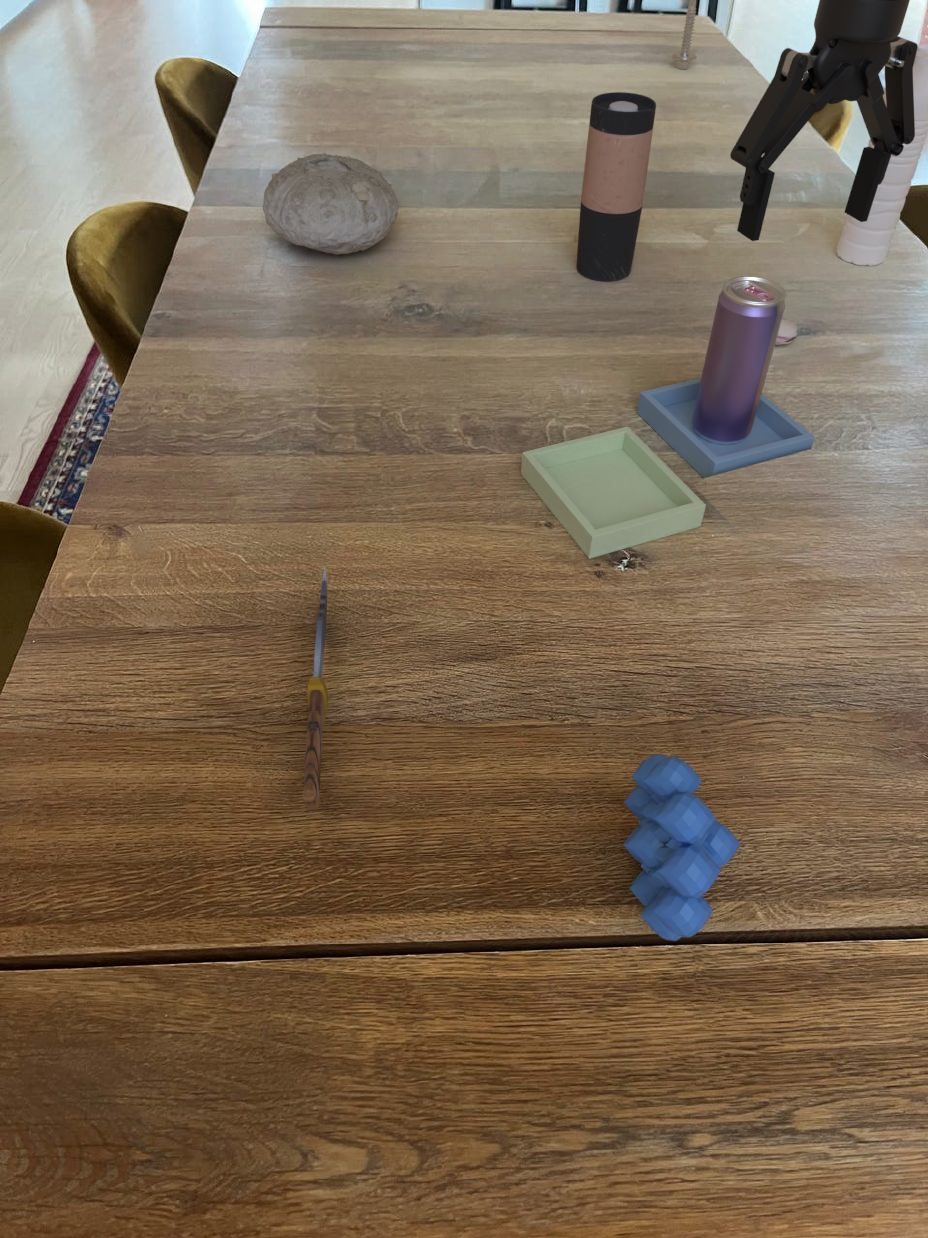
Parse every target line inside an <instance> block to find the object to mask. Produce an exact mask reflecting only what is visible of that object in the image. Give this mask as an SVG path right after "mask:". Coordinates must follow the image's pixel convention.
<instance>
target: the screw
mask: <svg viewBox="0 0 928 1238" xmlns="http://www.w3.org/2000/svg"><path fill="white" fill-rule="evenodd" d="M687 7H688V8H687V10H686V11H687V12H686V13H685V14H686V16H685V20H684V22H685V23H684V26H683V28H684V30H683V34H682V35H683V37H682V41H681V42H682V44H681V47H680V49H681V50H679V51H675V52H674V53H672V54H671V58H672V59H673V60H675V68H677V69H679V70H688V69H689V68H690V66H691V63H692V61H695V60H697V54H696V53H695V52H692V51H691V50H690V49H691V45H692V38H693V31H694V27H695V25H694V24H695V20H696V18H695V17H696V13H697V11H696V10H697V8H696V7H697V0H689V2H688V6H687Z"/></svg>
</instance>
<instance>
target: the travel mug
mask: <svg viewBox="0 0 928 1238" xmlns="http://www.w3.org/2000/svg"><path fill="white" fill-rule="evenodd" d="M656 109H657V103H656V101H655V100H654V99H653V98H651V97H650V96H649V97H648V96H646V95H643V94H639V93H634V92H626V91H625V92H623V91H621V92H620V91H616V92H615V91H614V92H605V93H601V94H597V95H595V96H594V97H593V98H592V100H591V104H590V115H589V122H588V123H589V125H588V131H587V132H588V133H587V140H586V141H587V143H586V149H585V150H586V151H585V158H584V159H585V161H584V169H583V178H582V179H583V180H582V186H581V195H580V207H579V222H578V236H577V237H578V238H577V251H576V271H577V273H578V274H580V276H582V275H583V277H584V278H587V279H590V280H593V281H598V282H617V281H621V280H624V279H626V278H627V277H629V276H630V274H631V271H632V267H633V262H634V256H635V250H636V243H637V238H638V233H639V227H640V221H641V217H642V211H643V204H644V197H645V191H646V190H645V189H646V185H647V177H648V169H649V162H650V161H649V160H650V153H651V146H652V141H653V132H654V125H655V117H656V111H657V110H656Z"/></svg>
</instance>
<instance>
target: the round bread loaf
mask: <svg viewBox="0 0 928 1238" xmlns="http://www.w3.org/2000/svg"><path fill="white" fill-rule="evenodd" d="M263 193H264V194H263V204H262V211H263V213H264V218H265V222H266V224H267V225H268V226H269V227H270V228H271V230H272V231H273V232H274V233H275V234H276V235H277V236H279V237H281V238H282V239H284V241H287V242H288V243H291V244H293V245H295V246H299V247H305V248H308V249H311V250H314V251H319V252H324V253H326V254H333V255H336V256H337V255H349V254H351V253H358V252H359V251H366V250H367V249H371V247H373V246H375V245H376V244H377V243H379V242H380V241H382V240H384V239H385V237H386V236H388V234H389V233H390V231H391V229H392V228H393V227H394V225H395V224H396V221H397V218H398V215H399V201H398V197H397V195H396V193H395V191H394V189H393V187H392V184H391V183H389V181H388V180H387V179H385V177H384V176H383V172H382V171H380V170H379V171H378V170H377V169H375V168H373V167H371V166H370V165H368V163H365V162H364V161H362V160H360V159H357V158H353V157H350V156H349V155H348V156H342V155H338V154H337V155H336V154H335V155H334V154H328V153H326V152H323V153H322V154H321V153H314V154H310V155H305V156H304V157H297V159H296V160H293V161H292V162H289V163H288V164H287V165H285V166H283V167H282V168H281V169H280V170H279V171H278V172H277V173H276V172H275V173H272V174H271V179H270V181H269V182H268V184H267V186H266V187H265V190H264V192H263Z"/></svg>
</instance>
